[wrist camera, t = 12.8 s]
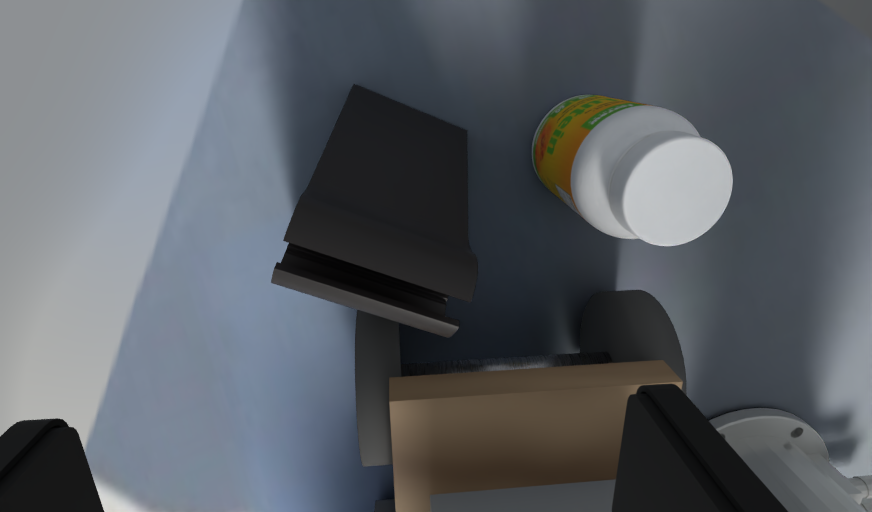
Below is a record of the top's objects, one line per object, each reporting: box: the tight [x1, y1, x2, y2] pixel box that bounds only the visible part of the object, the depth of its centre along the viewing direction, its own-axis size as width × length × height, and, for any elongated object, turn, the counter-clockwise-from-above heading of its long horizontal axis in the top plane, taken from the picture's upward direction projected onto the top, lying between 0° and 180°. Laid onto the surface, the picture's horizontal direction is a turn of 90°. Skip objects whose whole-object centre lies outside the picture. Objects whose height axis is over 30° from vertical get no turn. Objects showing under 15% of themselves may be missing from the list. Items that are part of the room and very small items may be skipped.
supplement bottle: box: [532, 95, 733, 246], centre depth 22 cm, size 5×5×10 cm
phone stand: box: [271, 84, 478, 338], centre depth 21 cm, size 9×6×12 cm, turn 157°
